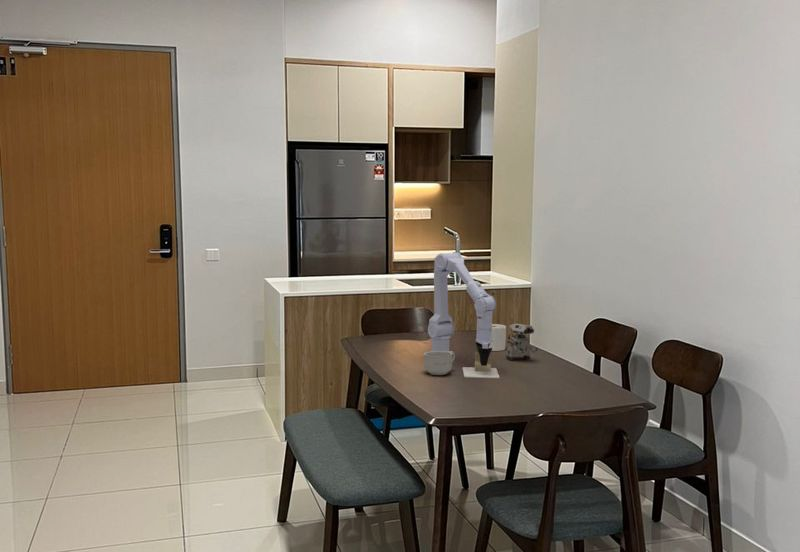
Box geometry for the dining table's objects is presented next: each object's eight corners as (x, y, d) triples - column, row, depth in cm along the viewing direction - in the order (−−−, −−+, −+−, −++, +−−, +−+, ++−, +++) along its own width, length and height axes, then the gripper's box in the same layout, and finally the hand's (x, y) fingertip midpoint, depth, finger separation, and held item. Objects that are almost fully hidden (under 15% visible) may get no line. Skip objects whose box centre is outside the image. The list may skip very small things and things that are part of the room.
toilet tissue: (499, 352, 328) (500, 329, 326) (473, 348, 334) (474, 326, 333) (509, 348, 337) (510, 325, 335) (484, 344, 343) (485, 322, 342)
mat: (462, 368, 299) (462, 367, 299) (495, 369, 299) (496, 368, 299) (464, 377, 285) (464, 376, 285) (499, 378, 285) (499, 377, 285)
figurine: (516, 364, 307) (518, 327, 305) (504, 357, 318) (505, 322, 316) (537, 363, 310) (538, 326, 308) (524, 356, 321) (525, 321, 319)
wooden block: (474, 370, 295) (475, 352, 294) (490, 370, 294) (491, 352, 294) (475, 371, 293) (475, 353, 292) (490, 371, 293) (491, 353, 292)
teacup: (433, 378, 283) (434, 357, 282) (417, 371, 292) (418, 351, 291) (464, 374, 290) (465, 353, 289) (448, 367, 299) (448, 347, 298)
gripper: (496, 332, 284) (495, 368, 286) (493, 324, 299) (491, 358, 300) (477, 331, 285) (476, 367, 286) (475, 324, 299) (473, 358, 301)
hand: (482, 363), depth 293 cm, fingers open, 7 cm apart
